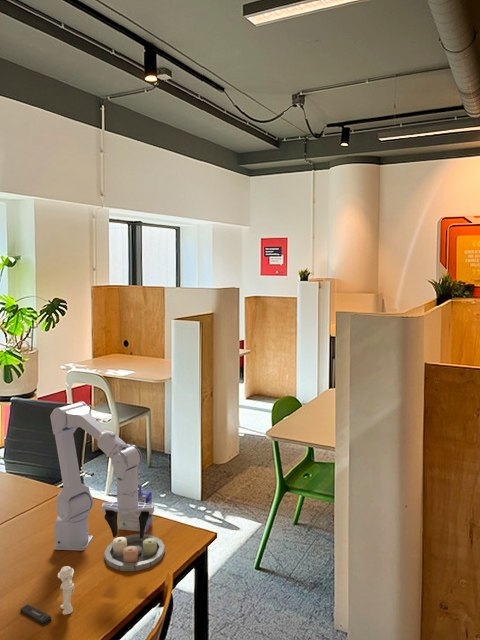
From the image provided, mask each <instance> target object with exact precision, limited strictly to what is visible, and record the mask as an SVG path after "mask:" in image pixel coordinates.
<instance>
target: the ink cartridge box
mask: <svg viewBox="0 0 480 640" xmlns="http://www.w3.org/2000/svg"><path fill="white" fill-rule="evenodd" d="M142 486H143V485H140V484H138V502H142V503H147V504H153V503H152V502H153V501H152V500H153V494H152V493H153V492H152V491H145V490H142ZM140 514H141V513H140V512H130V513H128V514H121V512H118V515H117V522H118V530H123V531H124V530H125V531H132V532H140V524H139V516H140ZM152 525H153V514H150V515H149V517H148V520H147V523H146V527H145V531H144V533H147V532H148V531H149V530H150V528H151V527H152Z"/></svg>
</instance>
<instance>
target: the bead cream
mask: <svg viewBox="0 0 480 640" xmlns="http://www.w3.org/2000/svg"><path fill="white" fill-rule="evenodd" d="M112 542H113V555H114V556H115V557H122V556H123V550H124V548H126V547H127V539H126V538H125V537H124V536H119V537H118V536H116V537H114V539H113V540H112Z"/></svg>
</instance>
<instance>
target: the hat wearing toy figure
mask: <svg viewBox="0 0 480 640" xmlns="http://www.w3.org/2000/svg"><path fill="white" fill-rule="evenodd" d="M74 573H75V570H74V568H73V567H71V566H69V565H67V566H65V565H64V566H61V569H60V571H59V572H58V573H57V578H58V579H60V580H61V584H60V587H59V588H60V590H62V603H63V604H60V606H59V607H60V609H61V610H62V612H61V613H62V615H65V616H66V615H69V614H72V613H73V611H74V610H73V606H72V605H71V600H72V599H71V597H72V594H74V588H75V583H74V582H73V577H74Z"/></svg>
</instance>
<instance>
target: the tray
mask: <svg viewBox="0 0 480 640" xmlns="http://www.w3.org/2000/svg"><path fill="white" fill-rule="evenodd" d="M123 537H125V538H126V539H127V547H128V546H135V547H137V549H138V562H137V563H124V560H123V556H122V557H115V556H114V555H113V541H112V542H110V543H109V544H108V545H107V547H106V549H105V550H104V552H103V554H104V557H103V558H104V560H105V562H106V564H107V566H108V567H111V568H112V569H114V570H117V571H119V572H120V571H121V572H136V571H141V570H142V571H143V570H145V569H149V568H151V567H154V566H155V565H156V564H158V562H160V561H162V559H163V557H164V555H165V552H166V545H165V544H164V542H163V541H162V539H161V538H159V537H157V536H154V535H151V534H145V533H144V536H143V538H140V533H134V534H129V535H125V536H123ZM148 538H153V539H156V541H157V554H156V555H154V556H153V557H151V558H145V557H144V556H143V541H144V540H145V539H148Z"/></svg>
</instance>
